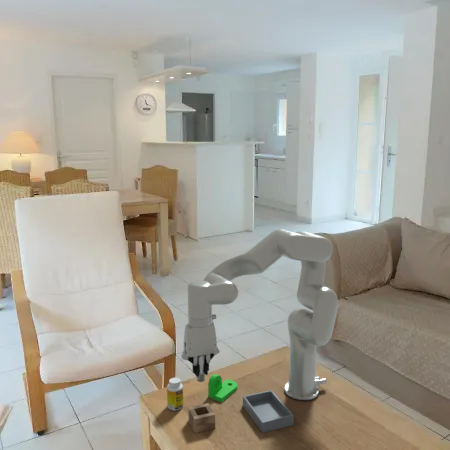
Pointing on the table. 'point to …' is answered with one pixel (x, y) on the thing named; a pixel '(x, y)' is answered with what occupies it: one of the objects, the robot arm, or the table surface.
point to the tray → (267, 411)
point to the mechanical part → (220, 388)
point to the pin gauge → (201, 368)
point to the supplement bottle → (175, 394)
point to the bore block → (201, 418)
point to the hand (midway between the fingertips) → (200, 373)
